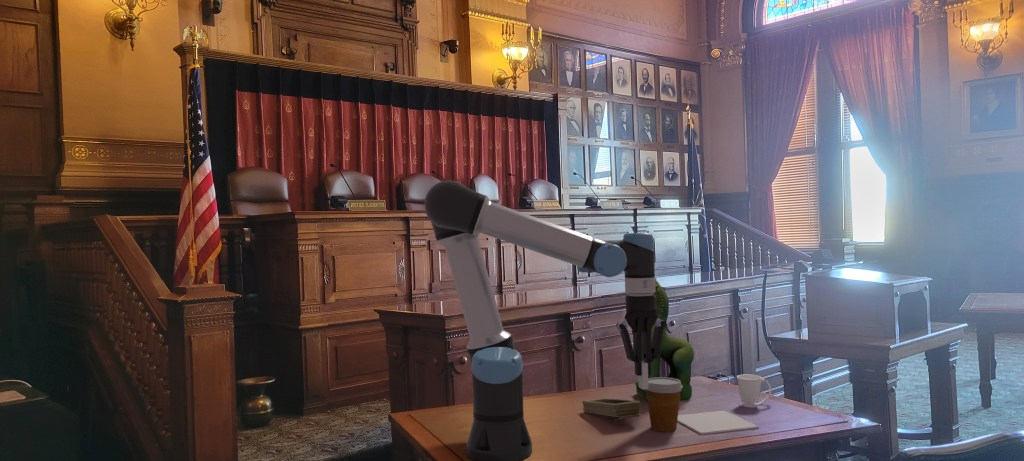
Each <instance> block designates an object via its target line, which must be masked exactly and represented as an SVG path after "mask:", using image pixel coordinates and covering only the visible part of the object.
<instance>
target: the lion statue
mask: <svg viewBox="0 0 1024 461" xmlns="http://www.w3.org/2000/svg"><path fill="white" fill-rule="evenodd" d="M655 291H656V292H655V293H653V295H655V296H656V313H657V315H658V318H659V319H661V320H663V321H666V323H667V322H668V318H669V312H670V310H669V308H670V304H669V303H670V302H669V297H668V294H667V292H666V290H665V289H664V288H663V286H662V285H660V282H659V281H658V280H657V279H655ZM654 329H655V324H654V325H653V327H652V329H651V331H652V334H651V344H652V339H653V334H654ZM641 340H642V336H641ZM694 358H695V351H694V348H693V346H692V344H691V343H690V342H689V341H688V340H687V339H684V338H681V337H677V336H676V337H673V336H670V335H669V334H668V333H667V325H666V326H665V328H664V329H663V333H662V339H661V344H660V349H659V355H658V358H657V359H654V360H653V362H652V363H651V375H648V379H649V378H655V377H661V376H660V375H661V374H660V373H661V372H660V365H661V359H662V360H663V361H664V362H665V363H666V364H667V366H668V368H669V372H668V375H666V376H665V377H666V378H674V379H678V380H680V381H681V385H682V386H683V388H682V390H681V393H680V401H688V400H690V399H691V398H692V395H693V391H692V390H693V387H692V385H691V378H692V377H691V375H692V374H691V371H692V370H691V369H692V362H693V361H694ZM642 361H644V360H643V341H642ZM634 385H635V386H636V389H635V390H636V395H639V396H641V397H642V398H644V399H645V400H646V401H647V402H648V400H647V392H646V389H644V390H643V389H641V388H639V383H638V380H636V381H635V382H634Z"/></svg>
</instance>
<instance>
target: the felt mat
mask: <svg viewBox="0 0 1024 461" xmlns="http://www.w3.org/2000/svg"><path fill="white" fill-rule="evenodd" d="M677 423H679V424H681V425H683V426H684V427H686V428H688V429H690V430H692V431H694V432H695V433H697V434H699V435H700V436H702V435H703V436H704V435H710V434H721V433H728V432H730V433H731V432H737V431H746V430H747V431H748V430H754V429H755V430H756V429H759V425H757V424H754V423H752V422H750V421H748V420H746V419H743V418H741V417H739V416H737V415H735V414H733V413H730V412H729V411H726V410H719V411H718V410H717V411H716V410H715V411H707V412H698V413H689V414H678V419H677Z"/></svg>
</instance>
